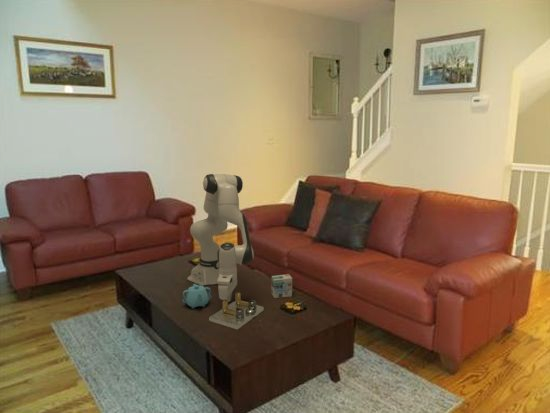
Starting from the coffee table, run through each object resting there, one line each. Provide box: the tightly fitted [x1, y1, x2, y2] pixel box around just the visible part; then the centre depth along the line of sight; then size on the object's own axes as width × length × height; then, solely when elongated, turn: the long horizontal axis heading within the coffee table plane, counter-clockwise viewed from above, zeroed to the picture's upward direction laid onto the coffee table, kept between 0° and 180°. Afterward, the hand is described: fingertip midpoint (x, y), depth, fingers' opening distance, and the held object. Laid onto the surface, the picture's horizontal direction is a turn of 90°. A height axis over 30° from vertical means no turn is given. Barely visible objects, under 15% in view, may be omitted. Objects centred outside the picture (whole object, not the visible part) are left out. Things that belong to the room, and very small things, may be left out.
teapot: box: [182, 283, 212, 310], centre depth 222 cm, size 13×14×11 cm
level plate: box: [208, 300, 265, 331], centre depth 210 cm, size 18×23×4 cm
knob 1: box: [222, 300, 244, 318], centre depth 207 cm, size 12×4×6 cm, turn 59°
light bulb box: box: [271, 273, 293, 299], centre depth 234 cm, size 11×7×11 cm, turn 105°
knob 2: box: [235, 292, 257, 309], centre depth 217 cm, size 12×4×6 cm, turn 59°
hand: (229, 300), depth 216 cm, fingers closed
